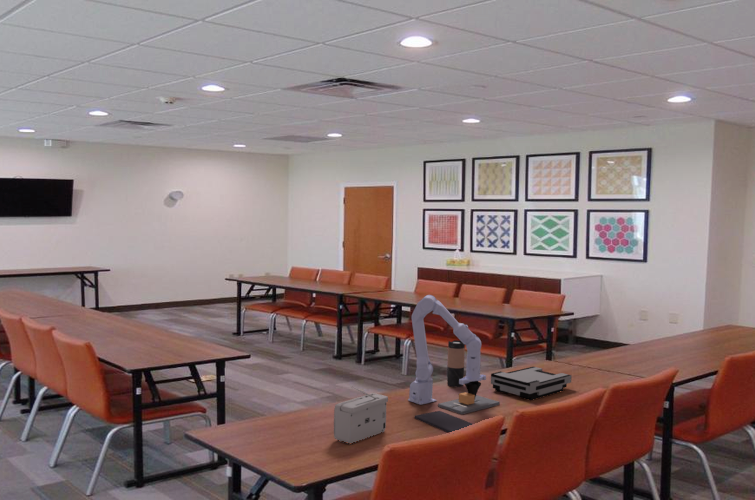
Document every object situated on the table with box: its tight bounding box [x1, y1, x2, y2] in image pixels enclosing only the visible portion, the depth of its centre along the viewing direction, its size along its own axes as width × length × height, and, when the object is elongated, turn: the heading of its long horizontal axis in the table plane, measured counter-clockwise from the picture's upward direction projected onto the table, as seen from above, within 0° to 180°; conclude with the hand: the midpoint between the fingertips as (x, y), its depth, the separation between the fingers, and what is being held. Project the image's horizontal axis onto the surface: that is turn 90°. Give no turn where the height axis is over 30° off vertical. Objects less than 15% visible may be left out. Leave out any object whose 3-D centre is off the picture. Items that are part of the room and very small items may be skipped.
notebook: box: [414, 410, 473, 433], centre depth 255 cm, size 13×2×21 cm
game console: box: [490, 366, 573, 401], centre depth 305 cm, size 21×32×8 cm, turn 132°
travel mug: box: [446, 339, 466, 388], centre depth 310 cm, size 8×8×20 cm
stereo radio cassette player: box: [333, 386, 389, 444], centre depth 237 cm, size 21×8×20 cm, turn 141°
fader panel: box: [437, 394, 500, 415], centre depth 279 cm, size 23×13×1 cm, turn 130°
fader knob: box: [458, 392, 475, 405], centre depth 277 cm, size 4×5×3 cm
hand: (472, 399), depth 280 cm, fingers closed
